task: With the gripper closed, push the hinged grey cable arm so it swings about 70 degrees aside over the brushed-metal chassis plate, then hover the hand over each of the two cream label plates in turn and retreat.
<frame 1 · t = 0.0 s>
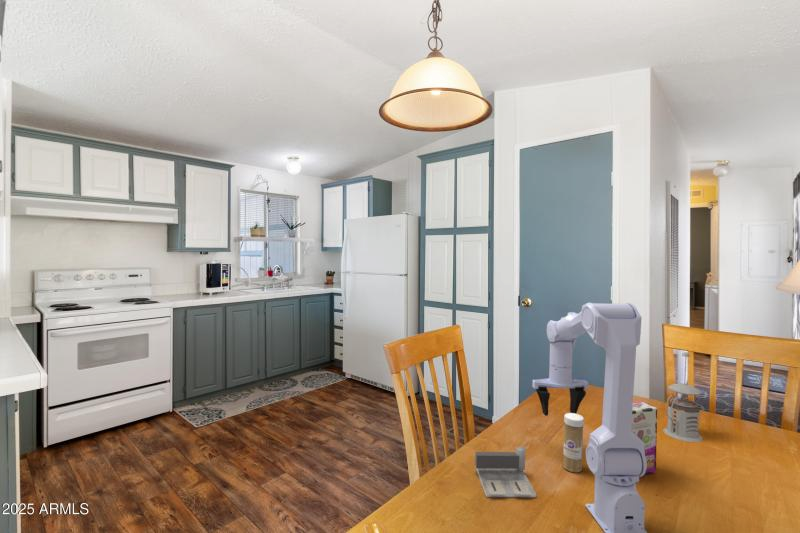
hand: (559, 414, 110), 10 cm above the table, fingers open, 7 cm apart
sprinkles bottle: (572, 469, 101), on the table
chassis plate: (503, 481, 95), on the table
cable arm: (500, 458, 99), point 4 cm above the table, hinge at 0.0°
french press: (680, 435, 121), on the table
candy bar box: (629, 471, 101), on the table
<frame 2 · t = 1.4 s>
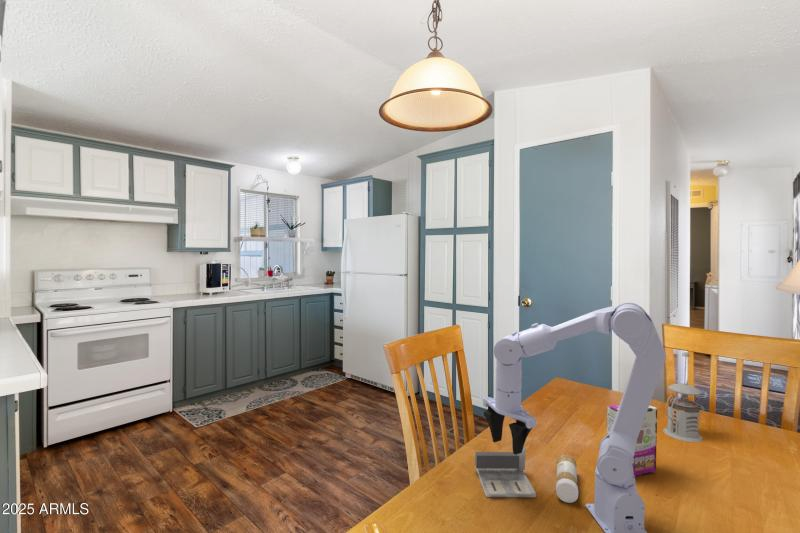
hand: (507, 446, 93), 9 cm above the table, fingers open, 6 cm apart
sprinkles bottle: (566, 462, 100), point 2 cm above the table
everything else where it was.
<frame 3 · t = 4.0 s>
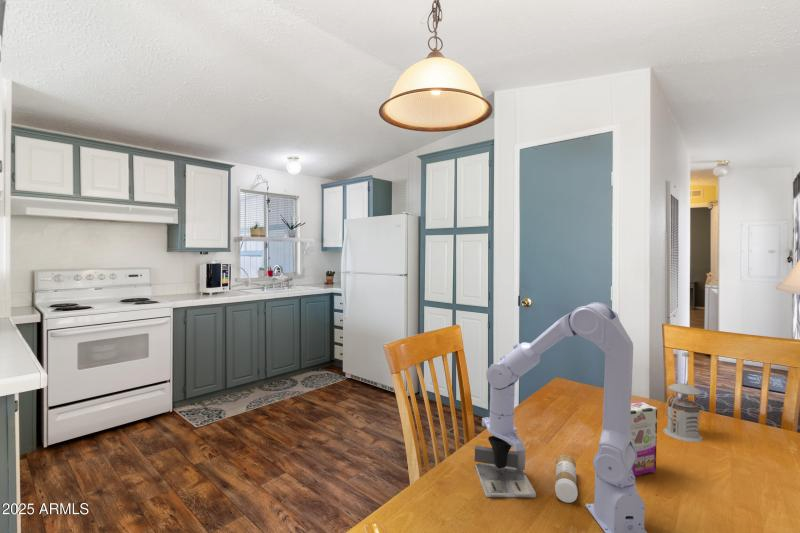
hand: (500, 466, 98), 2 cm above the table, fingers closed, pressing on cable arm
cable arm: (499, 455, 100), point 4 cm above the table, hinge at 17.2°, touching gripper
everything else where it was.
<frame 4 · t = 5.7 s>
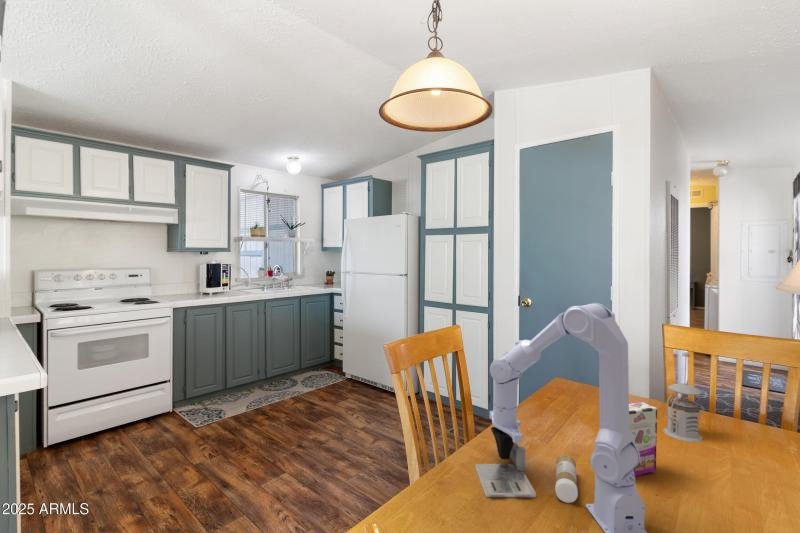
hand: (503, 457, 102), 2 cm above the table, fingers closed, pressing on cable arm
cable arm: (513, 448, 104), point 4 cm above the table, hinge at 86.1°, touching gripper
everything else where it was.
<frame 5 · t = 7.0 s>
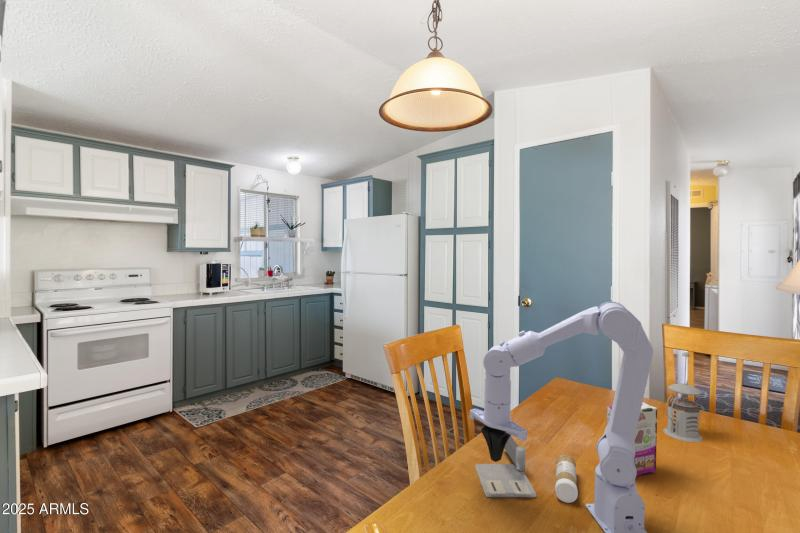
hand: (496, 459, 91), 7 cm above the table, fingers closed
cable arm: (513, 448, 104), point 4 cm above the table, hinge at 86.2°
everything else where it was.
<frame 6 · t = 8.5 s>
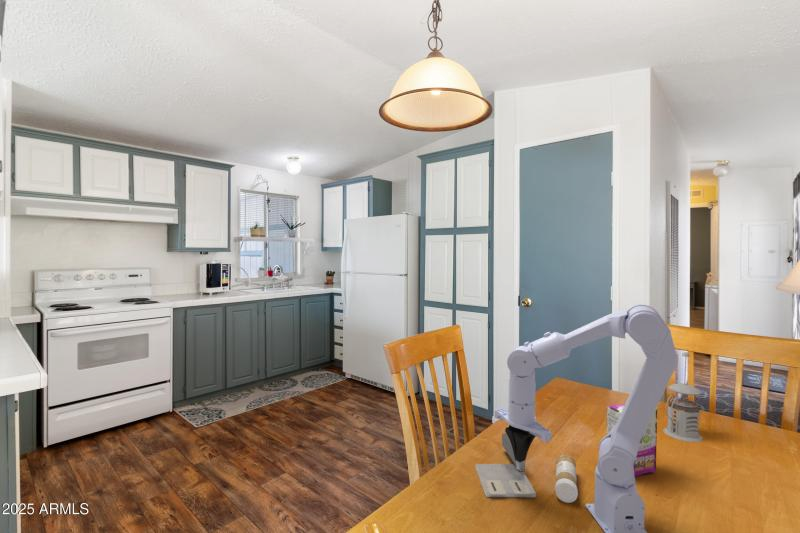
hand: (520, 459, 91), 7 cm above the table, fingers closed
nothing on the table moved.
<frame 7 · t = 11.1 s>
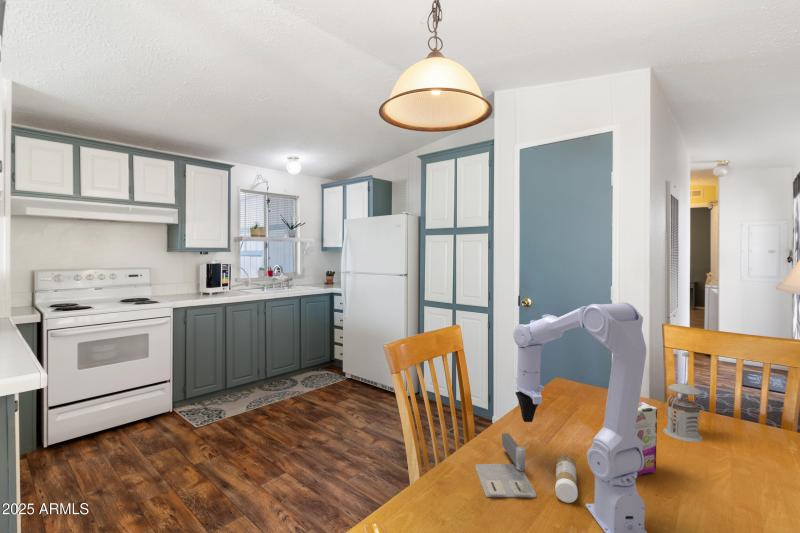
hand: (527, 420, 106), 10 cm above the table, fingers closed
nothing on the table moved.
at the end: cable arm at +86° (first picture: +0°) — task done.
